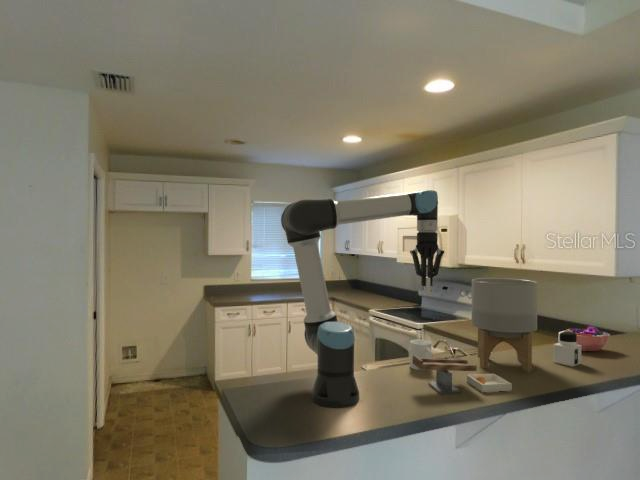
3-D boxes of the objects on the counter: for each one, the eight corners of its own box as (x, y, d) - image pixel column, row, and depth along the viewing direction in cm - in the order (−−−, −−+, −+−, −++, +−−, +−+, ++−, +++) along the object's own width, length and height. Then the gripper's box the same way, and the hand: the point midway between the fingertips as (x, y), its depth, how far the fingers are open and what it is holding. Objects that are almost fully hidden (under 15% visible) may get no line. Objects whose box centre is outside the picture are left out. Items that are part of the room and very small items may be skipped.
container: (581, 363, 175) (581, 332, 175) (572, 367, 170) (572, 334, 170) (562, 359, 181) (562, 329, 181) (553, 362, 177) (553, 331, 177)
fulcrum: (440, 394, 139) (440, 373, 139) (428, 384, 149) (428, 364, 149) (460, 393, 140) (460, 372, 140) (447, 383, 150) (447, 363, 150)
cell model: (553, 346, 204) (553, 322, 204) (591, 345, 207) (591, 322, 207) (578, 355, 188) (578, 330, 188) (620, 354, 190) (620, 329, 190)
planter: (458, 359, 180) (458, 279, 180) (499, 352, 191) (499, 277, 191) (508, 376, 158) (508, 284, 158) (550, 367, 169) (551, 282, 169)
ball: (477, 379, 145) (485, 375, 145) (472, 376, 148) (480, 373, 148) (480, 388, 145) (488, 384, 145) (475, 385, 148) (483, 381, 148)
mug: (441, 372, 162) (441, 345, 162) (422, 374, 159) (422, 347, 159) (423, 363, 173) (423, 338, 173) (406, 365, 171) (406, 340, 171)
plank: (420, 369, 140) (420, 360, 140) (406, 358, 152) (407, 350, 152) (476, 371, 142) (477, 362, 142) (458, 360, 155) (458, 352, 155)
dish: (482, 392, 141) (482, 384, 141) (466, 382, 151) (466, 374, 151) (511, 391, 142) (511, 383, 142) (494, 380, 153) (494, 373, 153)
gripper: (414, 231, 154) (413, 296, 154) (448, 231, 155) (447, 295, 155) (407, 231, 161) (406, 293, 161) (439, 232, 163) (439, 293, 163)
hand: (426, 294), depth 158 cm, fingers closed
